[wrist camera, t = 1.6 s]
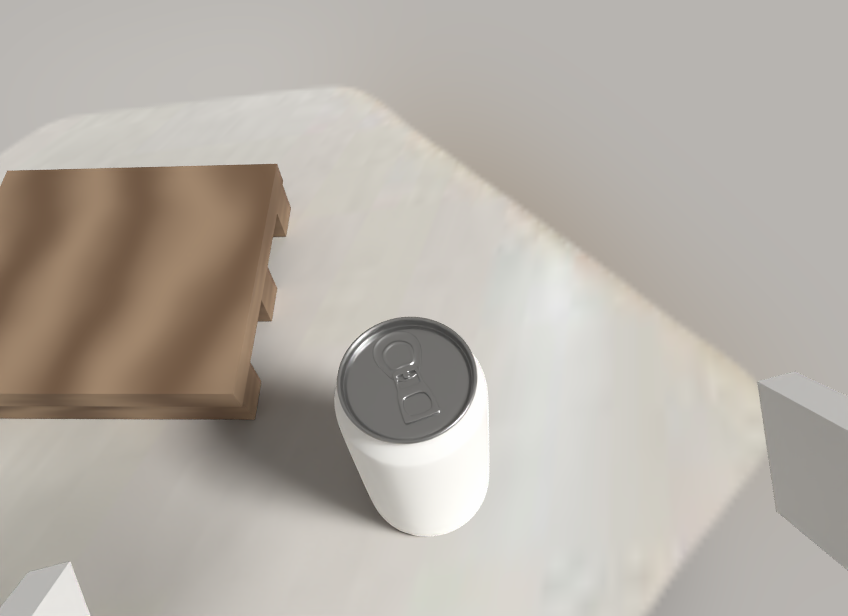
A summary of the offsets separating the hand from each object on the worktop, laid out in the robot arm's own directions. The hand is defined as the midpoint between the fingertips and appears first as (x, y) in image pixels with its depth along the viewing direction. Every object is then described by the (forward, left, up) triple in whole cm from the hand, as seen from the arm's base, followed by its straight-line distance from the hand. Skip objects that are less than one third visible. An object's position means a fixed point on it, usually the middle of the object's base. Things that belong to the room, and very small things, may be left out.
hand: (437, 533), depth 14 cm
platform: (-21, +20, -24) cm, 38 cm away
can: (-2, +9, -25) cm, 27 cm away
